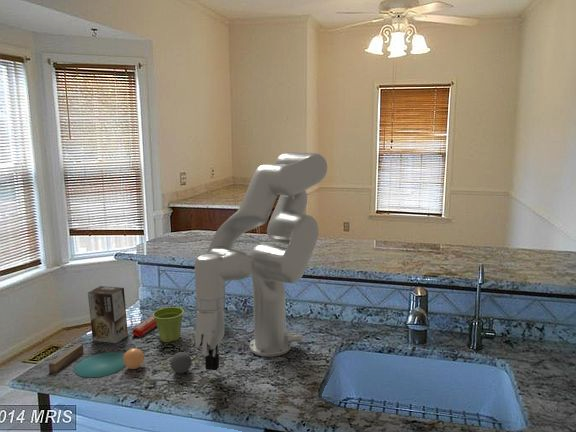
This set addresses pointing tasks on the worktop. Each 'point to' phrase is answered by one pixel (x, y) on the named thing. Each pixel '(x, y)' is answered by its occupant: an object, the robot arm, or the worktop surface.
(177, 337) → the plant pot
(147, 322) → the candy bar
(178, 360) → the grey ball
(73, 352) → the brown long bar
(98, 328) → the coffee box
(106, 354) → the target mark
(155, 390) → the worktop surface
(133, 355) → the object ball
